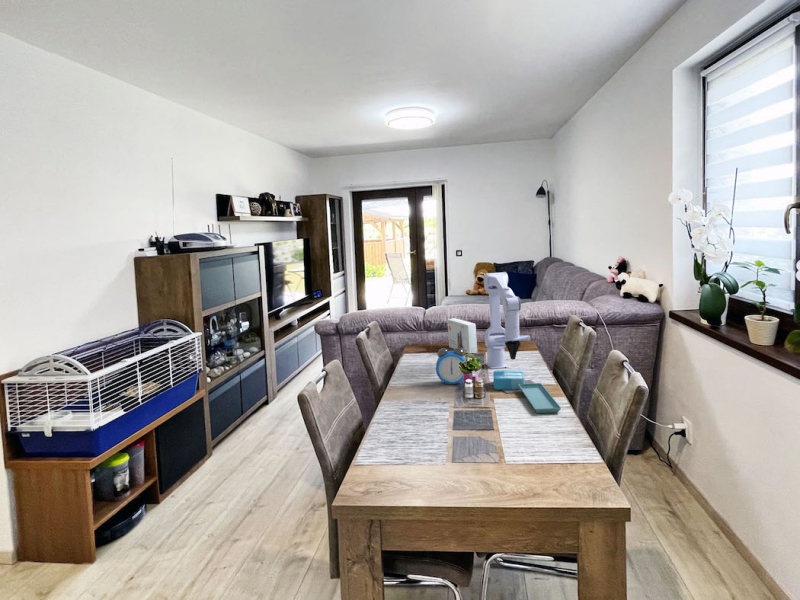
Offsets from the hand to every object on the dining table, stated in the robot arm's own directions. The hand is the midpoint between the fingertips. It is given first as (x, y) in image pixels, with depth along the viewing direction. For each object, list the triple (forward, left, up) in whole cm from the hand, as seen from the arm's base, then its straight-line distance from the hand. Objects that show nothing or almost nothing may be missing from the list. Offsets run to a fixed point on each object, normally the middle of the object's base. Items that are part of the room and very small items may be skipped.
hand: (512, 358), depth 214 cm
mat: (+6, 0, -10) cm, 12 cm away
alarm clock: (-8, -24, -10) cm, 27 cm away
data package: (-2, -1, -8) cm, 8 cm away
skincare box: (-63, -5, -11) cm, 64 cm away
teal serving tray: (+25, 0, -10) cm, 27 cm away
